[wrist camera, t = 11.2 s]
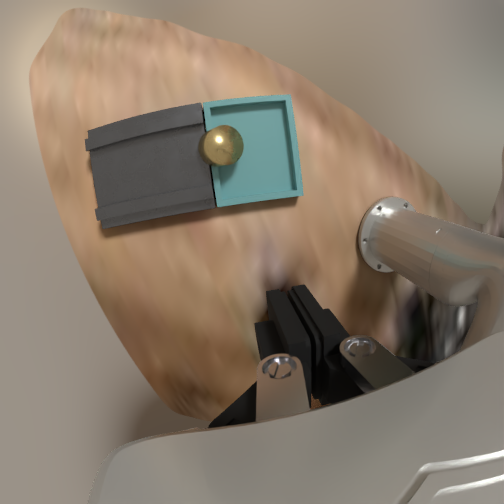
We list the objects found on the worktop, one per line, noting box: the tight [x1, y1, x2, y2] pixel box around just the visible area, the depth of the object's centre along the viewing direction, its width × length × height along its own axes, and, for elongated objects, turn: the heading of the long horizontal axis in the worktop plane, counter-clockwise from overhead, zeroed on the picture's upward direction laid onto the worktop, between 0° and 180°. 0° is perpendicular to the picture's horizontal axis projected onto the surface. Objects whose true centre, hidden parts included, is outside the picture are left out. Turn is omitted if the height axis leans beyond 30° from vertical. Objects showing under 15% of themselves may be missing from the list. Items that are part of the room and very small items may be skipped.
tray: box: [203, 95, 304, 207], centre depth 34 cm, size 12×14×2 cm
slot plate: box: [85, 103, 216, 229], centre depth 32 cm, size 16×14×3 cm
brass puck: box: [198, 125, 244, 167], centre depth 32 cm, size 5×5×2 cm
